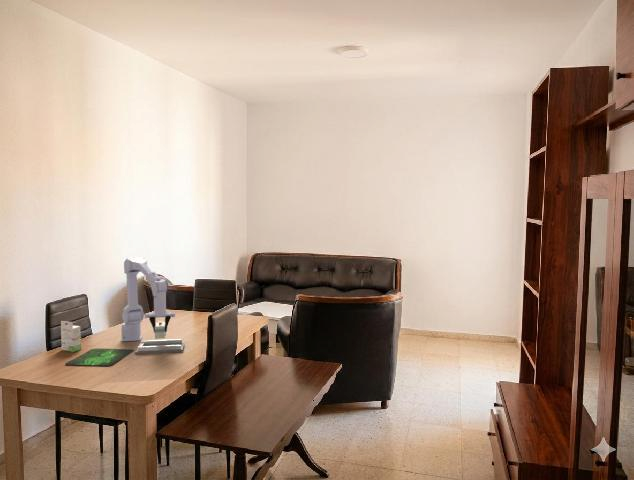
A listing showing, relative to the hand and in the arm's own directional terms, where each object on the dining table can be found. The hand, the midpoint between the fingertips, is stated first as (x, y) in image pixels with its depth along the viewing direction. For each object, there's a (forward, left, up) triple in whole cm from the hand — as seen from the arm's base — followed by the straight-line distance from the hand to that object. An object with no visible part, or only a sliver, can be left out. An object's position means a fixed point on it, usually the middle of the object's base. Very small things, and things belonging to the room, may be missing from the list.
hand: (160, 331), depth 255 cm
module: (0, 0, -2) cm, 2 cm away
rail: (0, 0, -8) cm, 8 cm away
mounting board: (0, 0, -9) cm, 9 cm away
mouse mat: (-26, -8, -10) cm, 29 cm away
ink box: (-43, +7, -9) cm, 45 cm away
